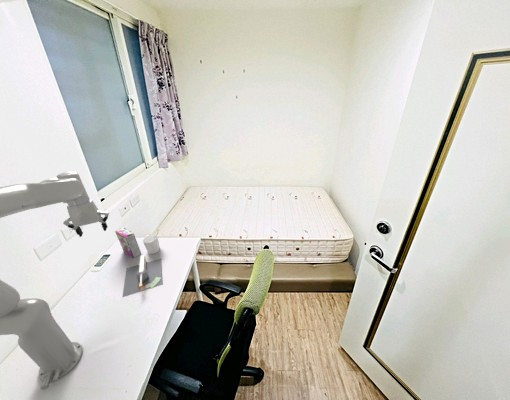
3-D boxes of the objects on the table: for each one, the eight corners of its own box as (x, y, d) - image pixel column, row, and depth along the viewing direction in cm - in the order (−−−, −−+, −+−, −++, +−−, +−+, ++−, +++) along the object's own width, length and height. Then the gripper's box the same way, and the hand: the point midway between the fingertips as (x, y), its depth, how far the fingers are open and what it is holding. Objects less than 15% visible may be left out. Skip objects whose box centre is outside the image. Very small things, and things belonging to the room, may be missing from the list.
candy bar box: (123, 253, 133) (114, 231, 125) (131, 248, 136) (123, 226, 128) (134, 259, 127) (125, 237, 119) (142, 254, 131) (134, 232, 123)
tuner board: (163, 286, 110) (162, 284, 109) (123, 299, 104) (122, 297, 103) (161, 260, 126) (161, 258, 125) (127, 269, 120) (126, 268, 120)
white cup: (163, 250, 133) (159, 237, 128) (150, 257, 128) (146, 244, 123) (157, 245, 138) (153, 232, 133) (145, 251, 133) (140, 238, 128)
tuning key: (148, 289, 106) (146, 283, 104) (137, 293, 105) (134, 287, 103) (149, 259, 125) (147, 254, 123) (139, 262, 123) (137, 256, 121)
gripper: (50, 208, 89) (69, 242, 97) (100, 199, 95) (113, 231, 103) (56, 201, 95) (73, 233, 103) (102, 192, 101) (115, 223, 109)
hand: (93, 232), depth 103 cm, fingers open, 9 cm apart
